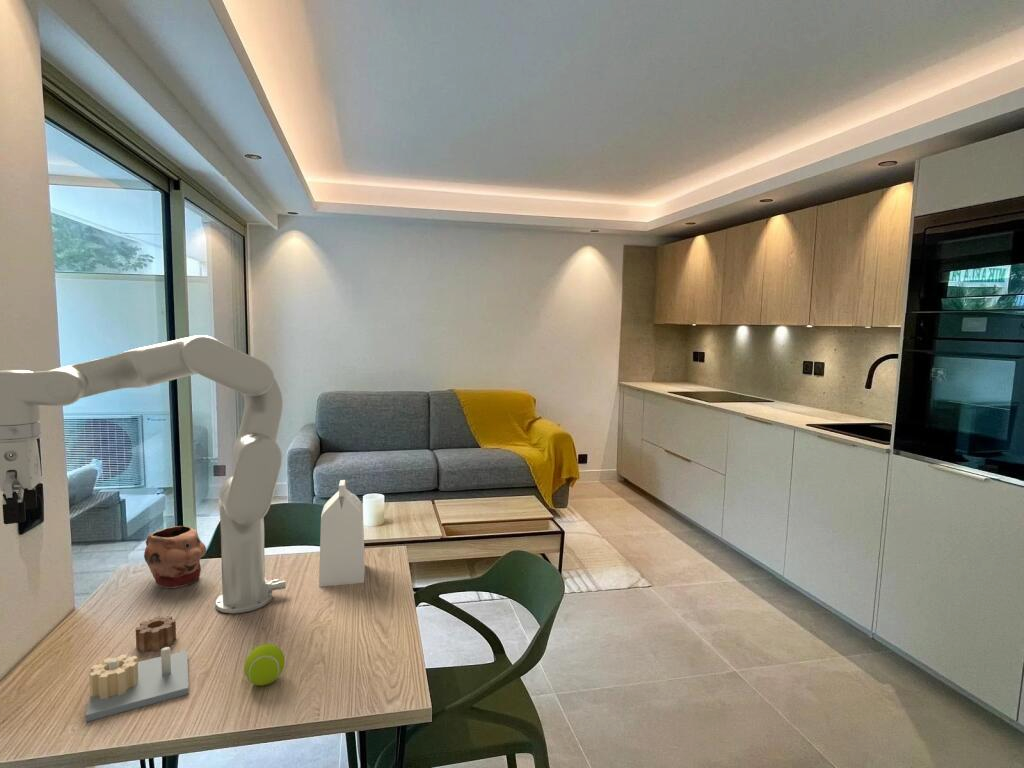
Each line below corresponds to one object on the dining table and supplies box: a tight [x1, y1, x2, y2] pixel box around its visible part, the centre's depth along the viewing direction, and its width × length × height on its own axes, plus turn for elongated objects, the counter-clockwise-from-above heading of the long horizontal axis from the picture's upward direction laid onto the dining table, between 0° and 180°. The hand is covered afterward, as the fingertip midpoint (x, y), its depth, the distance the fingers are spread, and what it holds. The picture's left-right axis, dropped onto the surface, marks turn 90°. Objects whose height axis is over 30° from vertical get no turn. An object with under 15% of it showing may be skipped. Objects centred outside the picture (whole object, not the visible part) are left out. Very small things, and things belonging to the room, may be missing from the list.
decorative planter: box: [143, 525, 207, 589], centre depth 148 cm, size 20×12×14 cm, turn 73°
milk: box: [318, 479, 366, 587], centre depth 152 cm, size 12×12×26 cm
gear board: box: [85, 646, 190, 723], centre depth 104 cm, size 15×14×6 cm
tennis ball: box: [243, 643, 286, 686], centre depth 105 cm, size 7×7×7 cm
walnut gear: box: [135, 615, 177, 653], centre depth 118 cm, size 7×7×4 cm
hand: (21, 515), depth 112 cm, fingers open, 9 cm apart
